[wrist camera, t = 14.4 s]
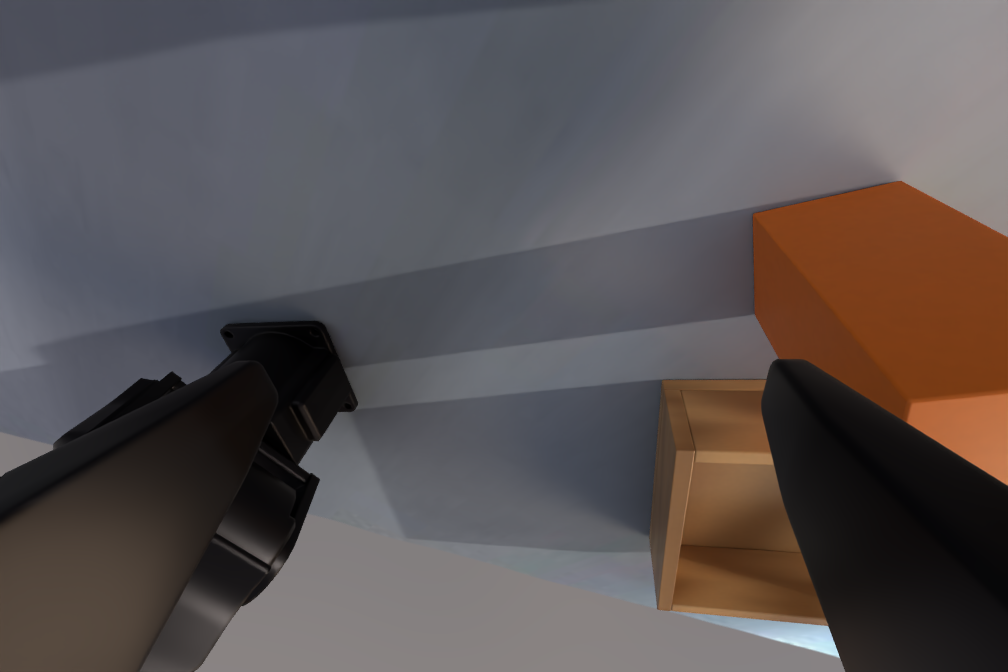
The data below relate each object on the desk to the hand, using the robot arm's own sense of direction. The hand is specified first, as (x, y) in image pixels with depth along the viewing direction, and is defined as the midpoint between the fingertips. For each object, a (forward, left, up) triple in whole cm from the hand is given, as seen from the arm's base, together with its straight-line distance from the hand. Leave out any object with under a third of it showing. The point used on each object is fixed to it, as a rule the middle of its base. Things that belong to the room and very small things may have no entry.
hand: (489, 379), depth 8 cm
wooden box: (+12, -18, -13) cm, 26 cm away
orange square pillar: (+11, -4, -13) cm, 18 cm away
